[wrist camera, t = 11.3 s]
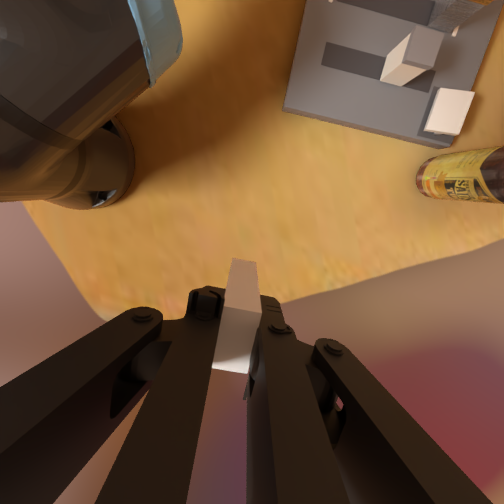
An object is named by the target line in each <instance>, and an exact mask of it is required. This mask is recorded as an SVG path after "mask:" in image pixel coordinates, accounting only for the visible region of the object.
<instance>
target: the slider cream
mask: <svg viewBox="0 0 504 504" xmlns="http://www.w3.org/2000/svg"><path fill="white" fill-rule="evenodd" d="M444 34H445V33H442V32H439V31H435V30H432V29H428V28H424V27H421V26H417V25H416V26H415V27H414V28H413V29H412V31H411V33H410V34H409V35H408V36H407V37H406V38H405V39H404V40H403V41H401V42H400V43H399V44H398V45H397V46H396V47H395V48H394V49H393V50H392V51H391V52H390V53H389V54H388V55H387V58H386V61H385V65H384V68H383V71H382V75H381V78H380V81H382V82H386V83H390V84H394V85H397V86H403V85H404V84H406V83H407V82H409V81H410V80H412V79H413V78H415V77H416V76H418V75H419V74H421V73H422V72H424V71H425V70H429V69H431V68H432V67H433V66H434V63H435V60H436V57H437V54H438V51H439V48H440V45H441V43H442V40H443V37H444Z"/></svg>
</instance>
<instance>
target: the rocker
mask: <svg viewBox="0 0 504 504" xmlns="http://www.w3.org/2000/svg"><path fill="white" fill-rule="evenodd" d="M474 94H475V92H471V91H463V90H455V89H447V88H440V89H439V90H438V91H437V94H436V96H435V99H434V102H433V105H432V108H431V111H430V114H429V116H428V119H427V122H426V125H425V128H424V131H428V132H434V135H442V134H447V135H454V136H456V135H459V133H460V130H461V128H462V125H463V123H464V120H465V117H466V115H467V112H468V109H469V107H470V104H471V102H472V99H473V96H474Z"/></svg>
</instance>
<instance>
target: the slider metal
mask: <svg viewBox="0 0 504 504" xmlns="http://www.w3.org/2000/svg"><path fill="white" fill-rule="evenodd" d="M492 1H494V0H436V1H435V4H434V7H433V10H432V13H431V17H430V20H429V23H428V27H431V28H435V29H439V30H442V31H446V32H449V33H450V32H451V31H452V30H453V29H455V28H456V27H457V26H459V25H460V24H461V23H463V22H464V21H465V20H466V19H468V18H469V17H470V16H472V15H473V14H474V13H476V12H477V11H478V10H480V9H481V8H482V7H483V6H487V5H488V4H490V3H491V2H492Z"/></svg>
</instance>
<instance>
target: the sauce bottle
mask: <svg viewBox="0 0 504 504" xmlns="http://www.w3.org/2000/svg"><path fill="white" fill-rule="evenodd" d="M416 184H417V187H418V189H419V190H420V192H421V193H422V194H424V195H425V196H428V197H432V198H435V199H445V200H459V201H473V202H487V203H500V204H504V146H500V147H493V148H486V149H479V150H472V151H465V152H458V153H451V154H445V155H440V156H438V157H434V158H431V159H429V160H427V161H426V162H425V163H424V164H423V165H422V166H421V167H420V169H419V171H418V173H417V176H416Z"/></svg>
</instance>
